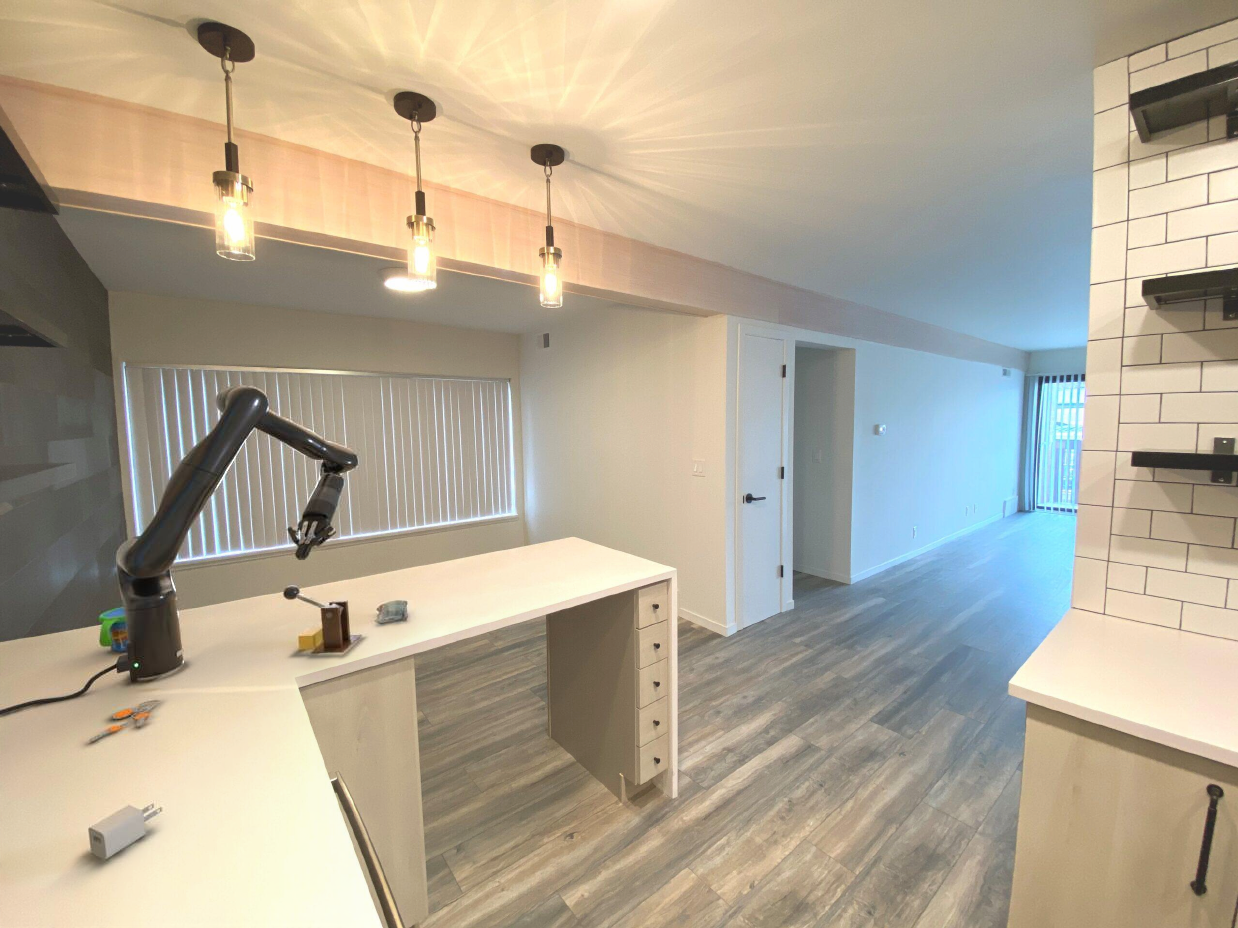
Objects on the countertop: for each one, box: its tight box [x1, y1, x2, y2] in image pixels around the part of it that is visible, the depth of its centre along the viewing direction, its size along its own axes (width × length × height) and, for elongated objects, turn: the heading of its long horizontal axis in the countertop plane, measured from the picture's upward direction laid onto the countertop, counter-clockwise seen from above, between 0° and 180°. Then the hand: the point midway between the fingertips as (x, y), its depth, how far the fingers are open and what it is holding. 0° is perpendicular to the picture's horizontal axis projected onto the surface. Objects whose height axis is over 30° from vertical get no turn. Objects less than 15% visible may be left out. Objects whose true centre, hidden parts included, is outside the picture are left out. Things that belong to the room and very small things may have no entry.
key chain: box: [88, 699, 161, 742], centre depth 102 cm, size 13×7×1 cm, turn 20°
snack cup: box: [98, 606, 128, 653], centre depth 135 cm, size 16×10×10 cm
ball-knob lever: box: [282, 585, 344, 615], centre depth 132 cm, size 15×4×4 cm, turn 92°
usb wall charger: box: [87, 803, 163, 860], centre depth 73 cm, size 4×7×4 cm, turn 159°
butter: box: [297, 626, 323, 651], centre depth 133 cm, size 5×8×5 cm, turn 2°
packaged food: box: [374, 599, 408, 624], centre depth 151 cm, size 9×12×5 cm
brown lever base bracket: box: [310, 600, 362, 654], centre depth 132 cm, size 8×10×12 cm
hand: (300, 558), depth 136 cm, fingers closed
